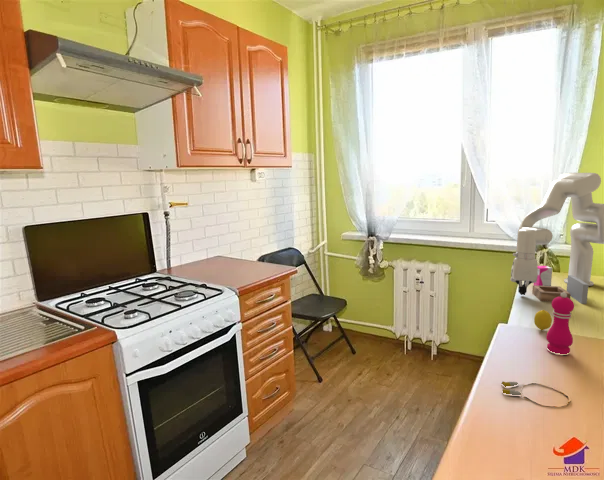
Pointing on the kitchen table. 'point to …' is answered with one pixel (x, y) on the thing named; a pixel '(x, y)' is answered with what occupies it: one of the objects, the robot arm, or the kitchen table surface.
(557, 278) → the kitchen table surface
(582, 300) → the backstop wall
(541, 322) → the lemon
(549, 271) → the supplement box
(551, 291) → the socket block
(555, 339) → the pepper mill
